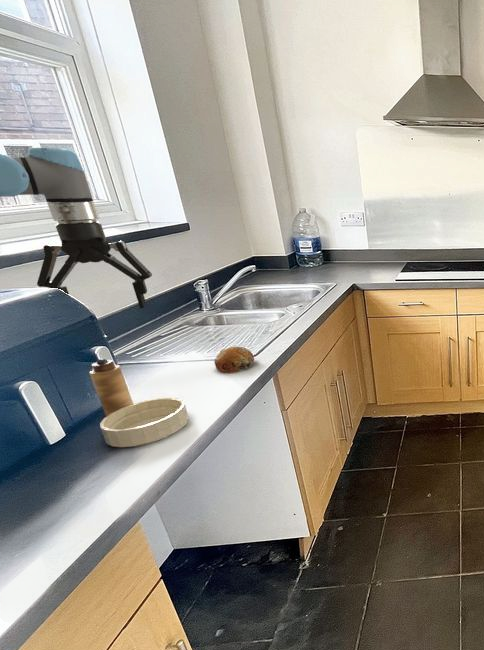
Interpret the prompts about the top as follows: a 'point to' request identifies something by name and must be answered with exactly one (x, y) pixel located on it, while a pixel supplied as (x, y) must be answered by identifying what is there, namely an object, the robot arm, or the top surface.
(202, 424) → the top surface
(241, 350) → the bread roll
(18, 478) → the top surface
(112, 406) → the pepper mill
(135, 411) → the bowl
